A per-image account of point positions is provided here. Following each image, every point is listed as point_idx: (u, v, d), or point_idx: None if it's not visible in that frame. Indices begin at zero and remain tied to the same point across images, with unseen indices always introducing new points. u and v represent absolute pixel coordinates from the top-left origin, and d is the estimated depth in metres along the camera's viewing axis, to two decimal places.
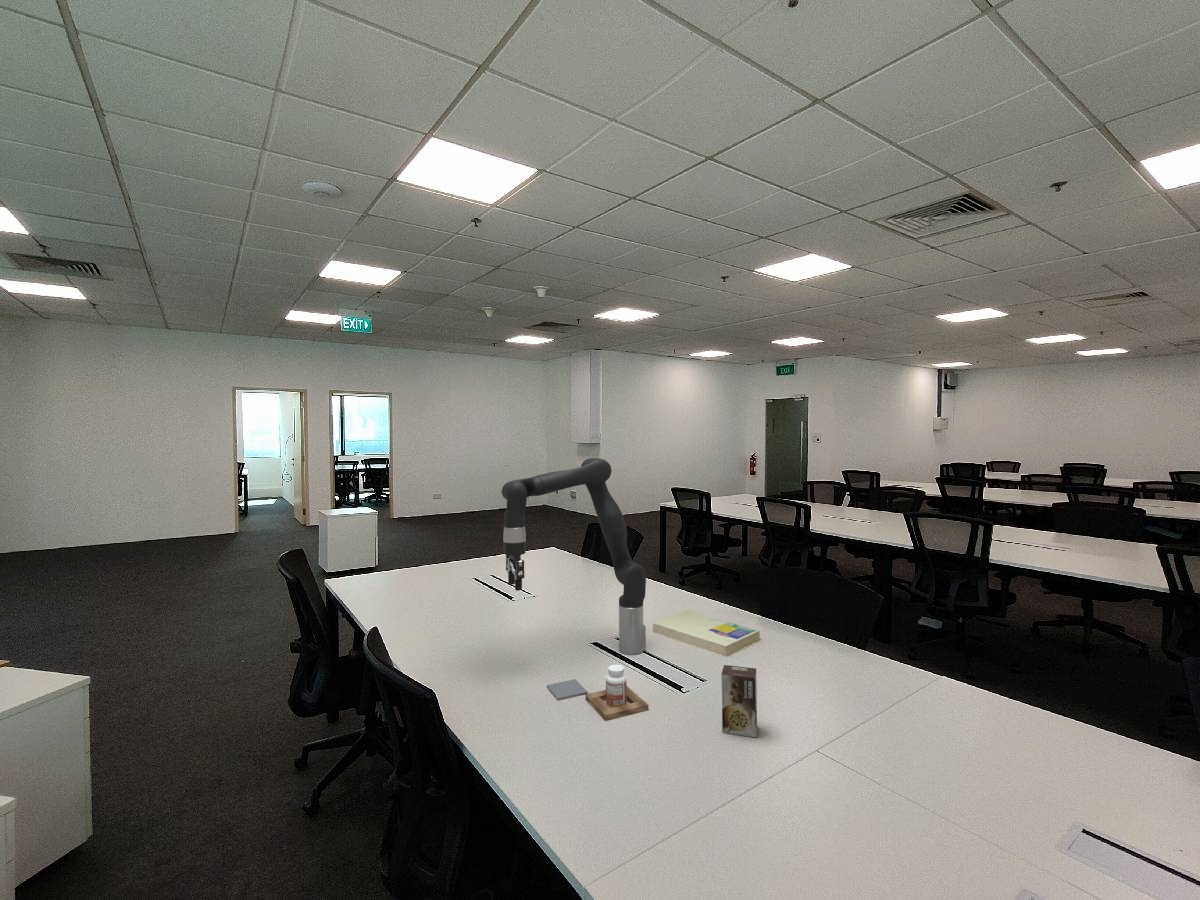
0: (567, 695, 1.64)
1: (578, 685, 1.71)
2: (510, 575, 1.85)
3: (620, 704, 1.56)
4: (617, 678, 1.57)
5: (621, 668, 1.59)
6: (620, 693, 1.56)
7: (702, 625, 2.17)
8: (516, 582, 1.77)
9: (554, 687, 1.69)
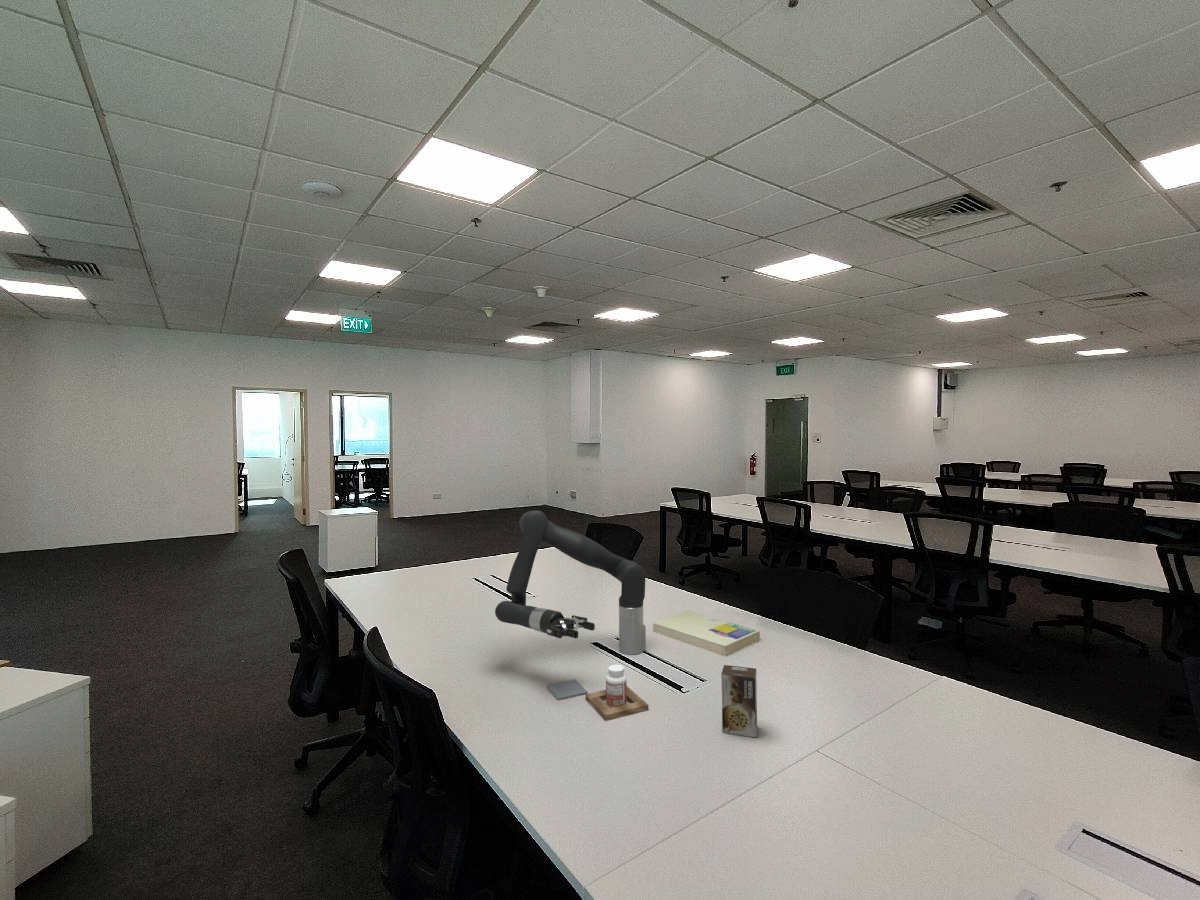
0: (567, 695, 1.64)
1: (578, 685, 1.71)
2: (585, 626, 1.71)
3: (620, 704, 1.56)
4: (617, 678, 1.57)
5: (621, 668, 1.59)
6: (620, 693, 1.56)
7: (702, 625, 2.17)
8: None
9: (554, 687, 1.69)
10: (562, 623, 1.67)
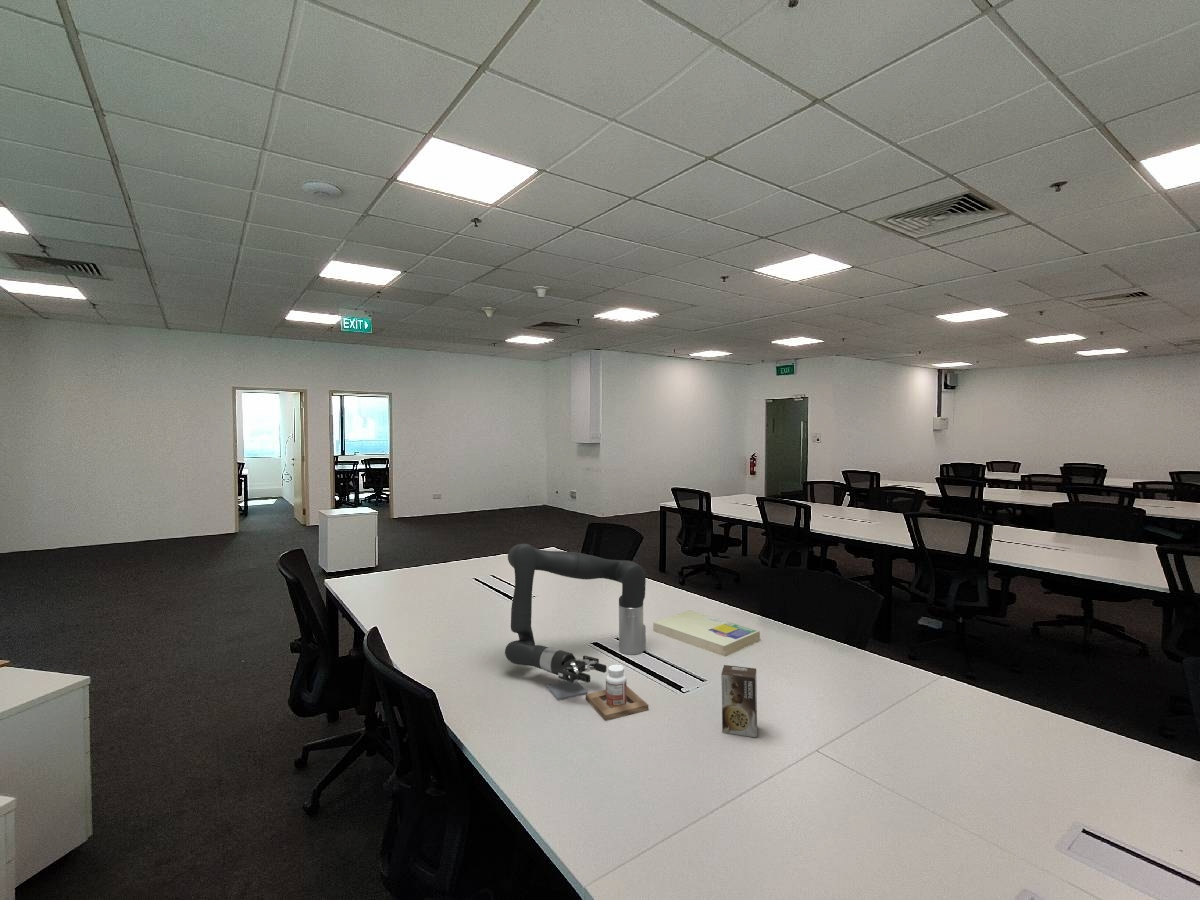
0: (567, 695, 1.64)
1: (578, 685, 1.71)
2: (596, 668, 1.68)
3: (620, 704, 1.56)
4: (617, 678, 1.57)
5: (621, 668, 1.59)
6: (620, 693, 1.56)
7: (702, 625, 2.17)
8: None
9: (554, 687, 1.69)
10: (573, 666, 1.65)
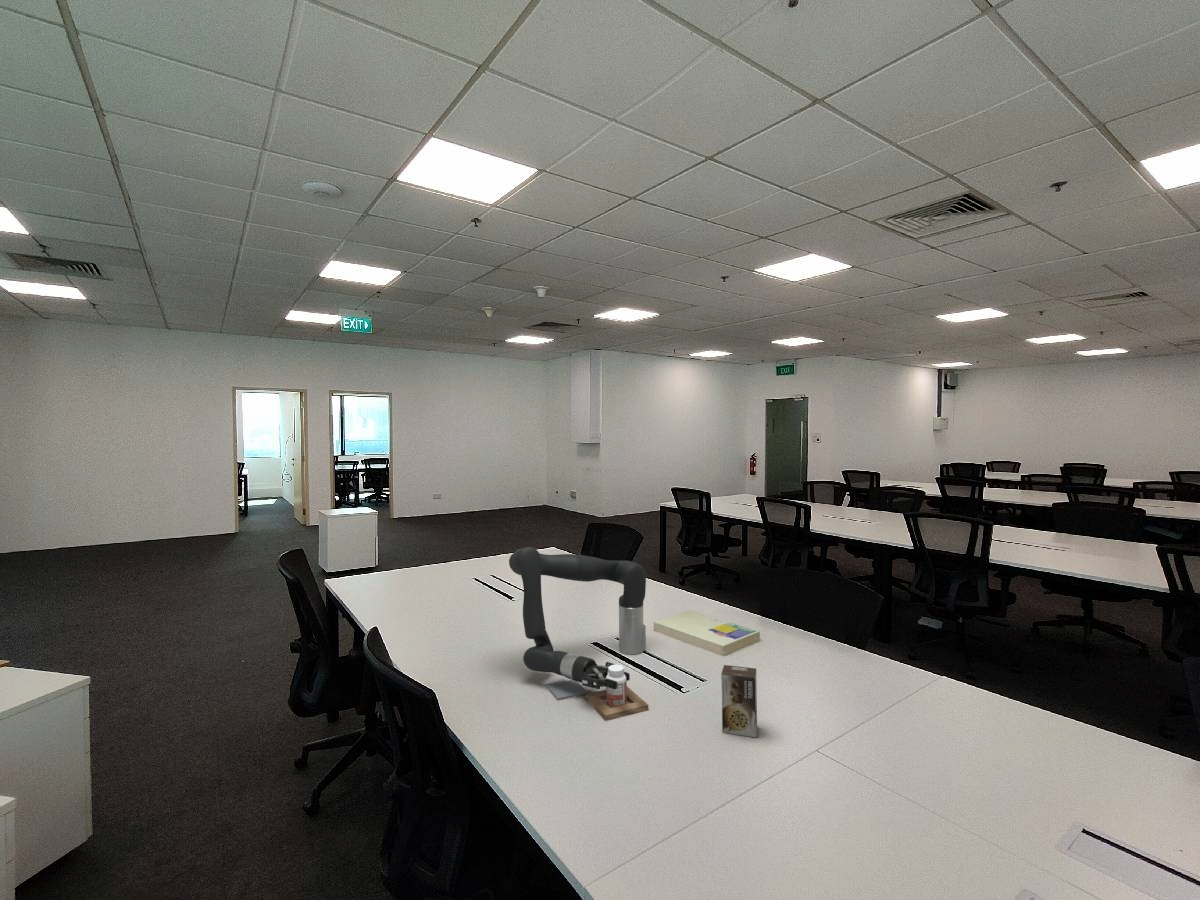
0: (567, 695, 1.64)
1: (578, 685, 1.71)
2: None
3: (620, 704, 1.56)
4: (617, 678, 1.57)
5: (621, 668, 1.59)
6: (620, 693, 1.56)
7: (702, 625, 2.17)
8: None
9: (554, 687, 1.69)
10: (597, 672, 1.60)
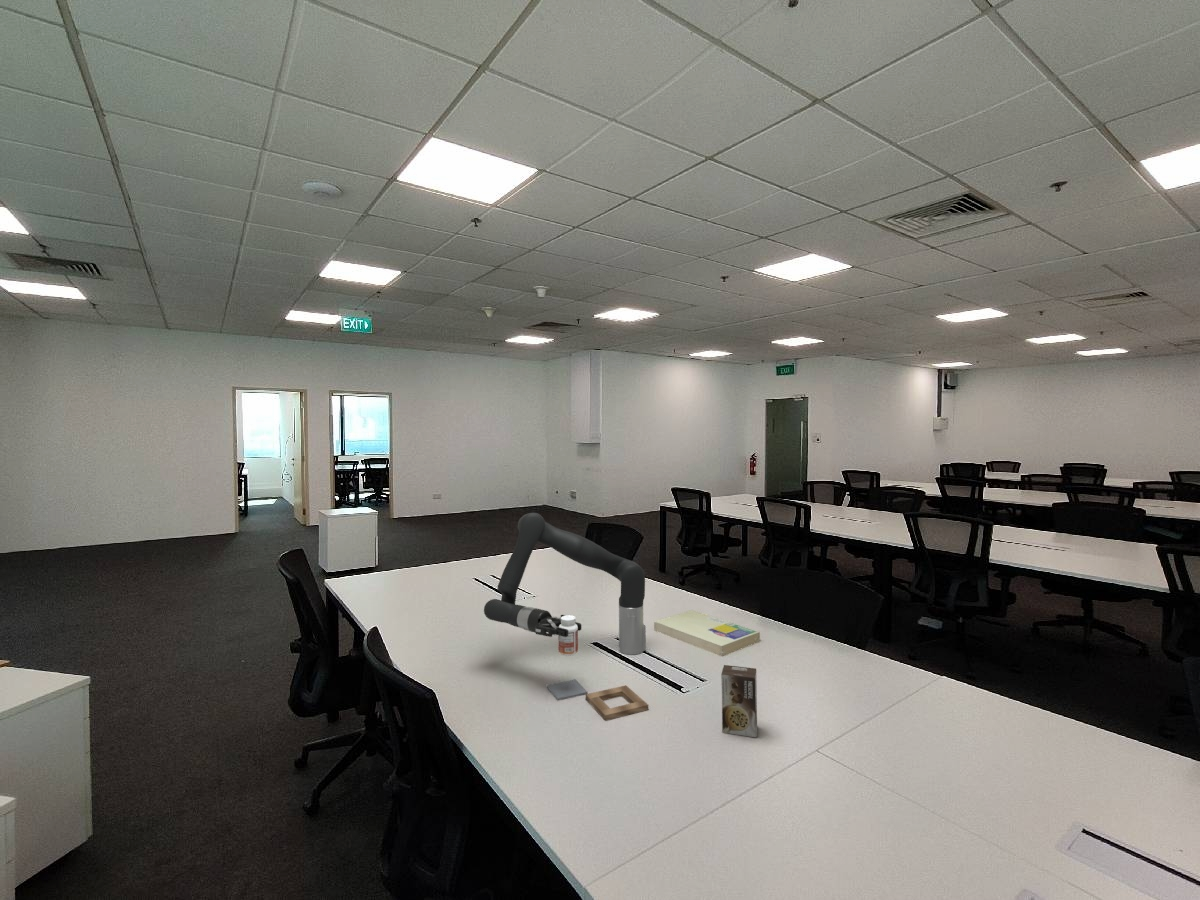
0: (567, 695, 1.64)
1: (578, 685, 1.71)
2: None
3: (571, 651, 1.65)
4: (568, 627, 1.66)
5: (573, 618, 1.67)
6: (571, 641, 1.65)
7: (703, 625, 2.17)
8: (559, 634, 1.65)
9: (554, 687, 1.69)
10: (551, 622, 1.69)
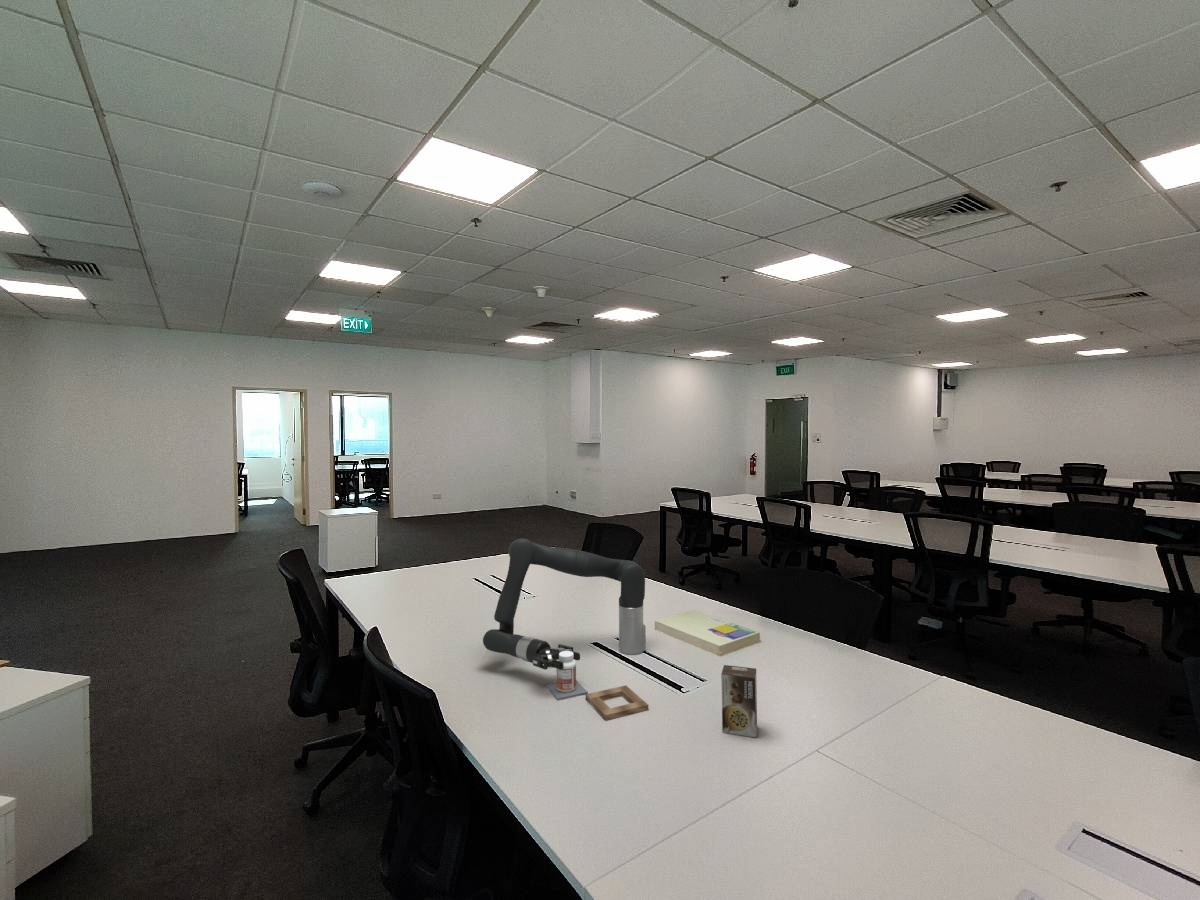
0: (567, 695, 1.64)
1: (578, 685, 1.71)
2: None
3: (569, 688, 1.66)
4: (566, 663, 1.66)
5: (571, 654, 1.68)
6: (569, 677, 1.66)
7: (703, 624, 2.18)
8: None
9: (554, 687, 1.69)
10: (548, 654, 1.69)
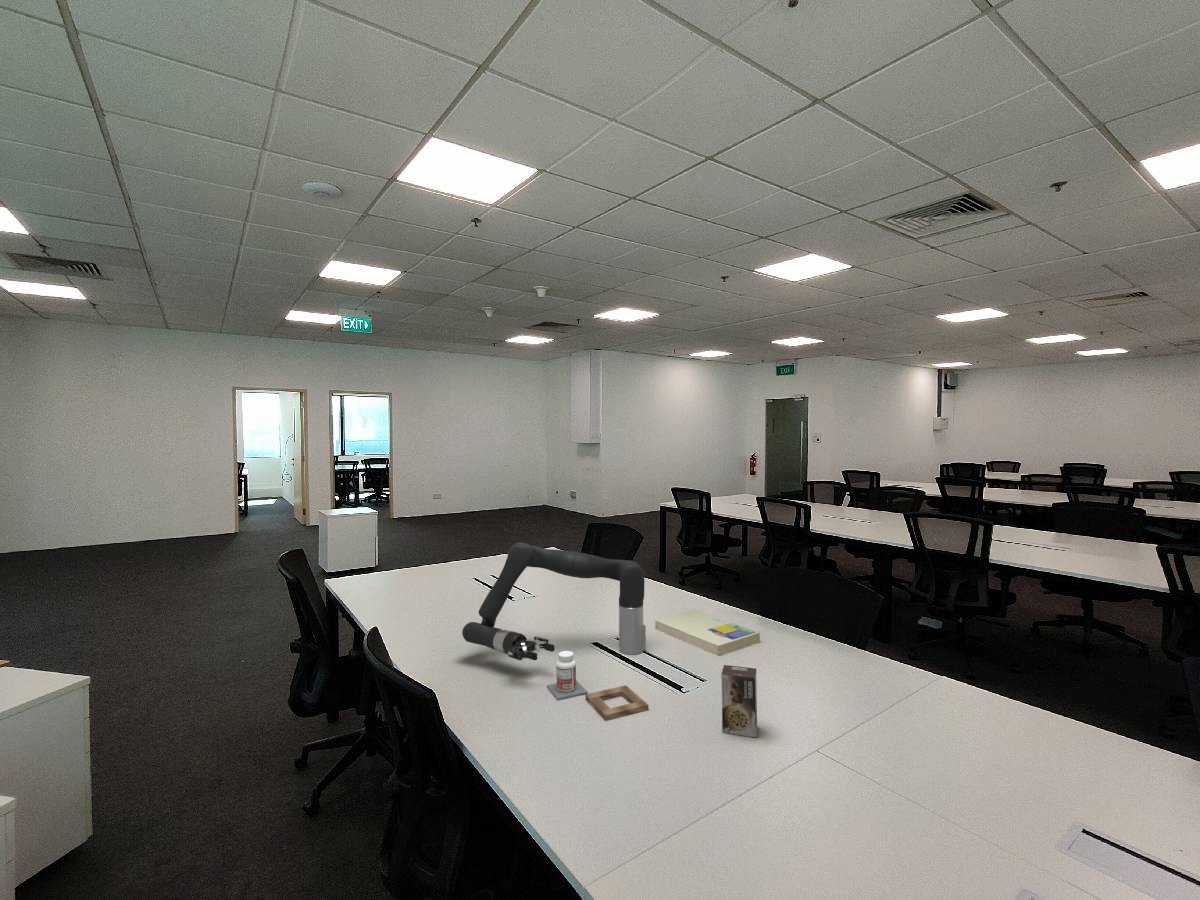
0: (567, 695, 1.64)
1: (578, 685, 1.71)
2: (545, 648, 1.79)
3: (569, 688, 1.66)
4: (566, 663, 1.66)
5: (570, 654, 1.68)
6: (569, 677, 1.66)
7: (703, 624, 2.18)
8: None
9: (554, 687, 1.69)
10: (523, 645, 1.76)
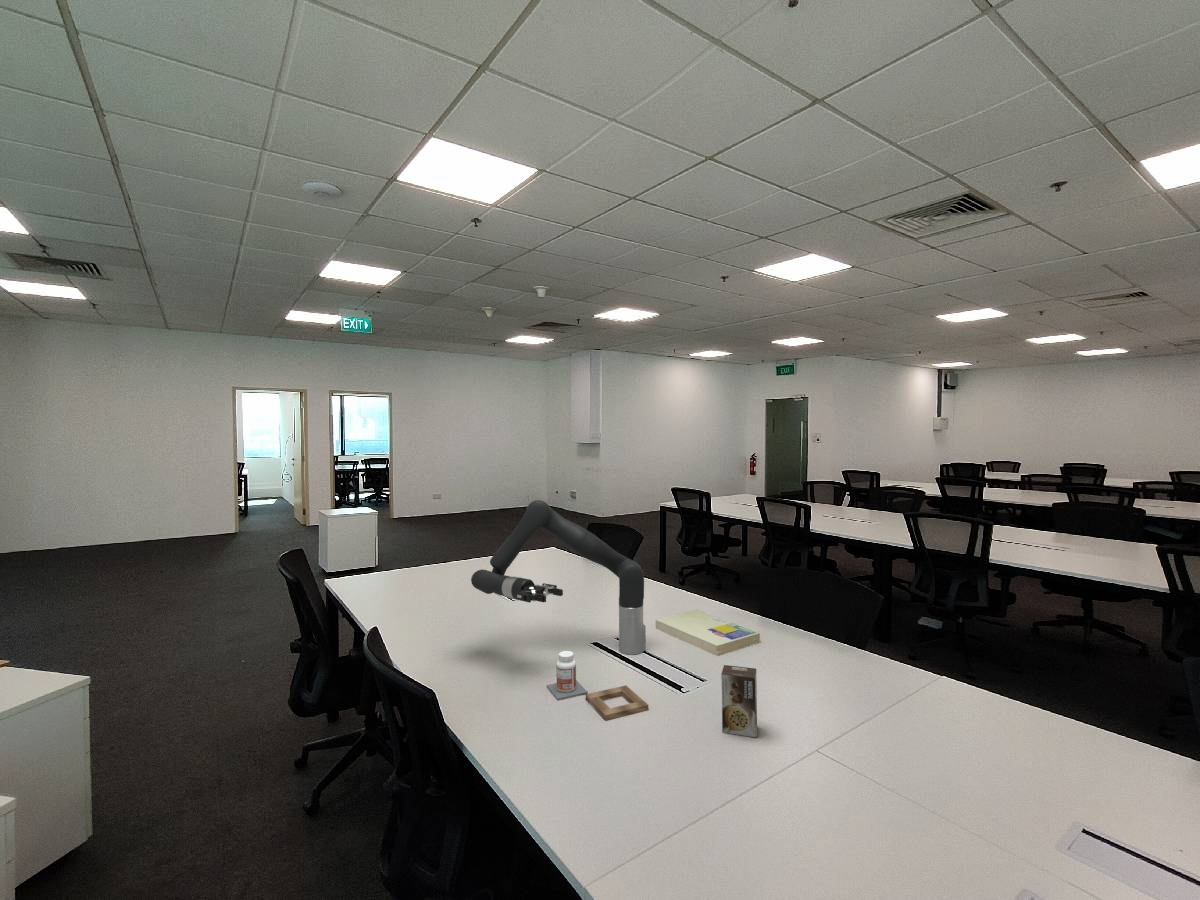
0: (567, 695, 1.64)
1: (578, 685, 1.71)
2: (554, 593, 1.81)
3: (569, 688, 1.66)
4: (566, 663, 1.66)
5: (571, 654, 1.68)
6: (569, 677, 1.66)
7: (703, 624, 2.18)
8: None
9: (554, 687, 1.69)
10: (532, 589, 1.77)
